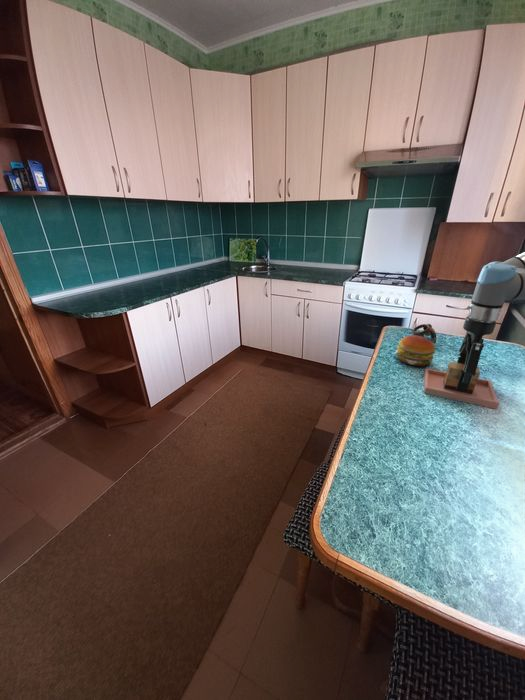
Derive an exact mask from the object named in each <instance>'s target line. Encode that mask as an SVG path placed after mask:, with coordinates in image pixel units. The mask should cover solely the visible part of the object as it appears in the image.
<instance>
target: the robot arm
mask: <svg viewBox="0 0 525 700" xmlns="http://www.w3.org/2000/svg"><path fill="white" fill-rule="evenodd" d="M507 300H510V301H511V300H512V301H525V251H524V252H522V253H520V254H518V255H515V256H513V257H510V258H509V259H507V260H505V261H501V260H500V261H491V262H489V263H487V264H485V265H483V266H482V269H481V271H480V272H479V275H478V278H477V279H476V285H475V288H474V291H473V294H472V297H471V301H470V305H467V307H466V309H467V310H468V311H467V313H466V315H467V316H466V317H465V320H464V323H463V326H462V328H463V330H465V332H466V333H465V336H464V338H463V340H462V343H461V344H460V348H459V350H458V352H459V354H458V357H457V361H456V363H461V364H465V365H464V370H463V371H460V373H461V375H460V378H459V381H458V384H457V387H456V390H460V391H465V392H466V391H467V388H468V386H469V383H470V380H471V377H472V376H475V373H476V369H477V367H479V366H478V365H479V361H480V358H481V355H482V351H483V349H484V347H485V344H484V340H485V338H483V337H484V336H486V335H487V336H489V335H492V334H493V333H494V331H495V328H496V325H497V321H498V320H499V318H500V315H501V312H502V310H503V308H504V307H503V306H504V304H505V302H506V301H507Z"/></svg>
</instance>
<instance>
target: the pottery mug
mask: <svg viewBox="0 0 525 700" xmlns="http://www.w3.org/2000/svg"><path fill="white" fill-rule="evenodd" d="M420 329H422V331H418V330H420ZM417 331H418V332H417ZM411 332H412V334H411V336H415V335H416V336H422V337H425V336H427V337H428V336H429V337H430V339H432V340H433V344H436V343H437V333H436V331H435V329H434V328H433V326H432V324H430V323H423V324H418V325H416V326H415V327H414V328H413V329H412V331H411Z"/></svg>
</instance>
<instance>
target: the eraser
mask: <svg viewBox="0 0 525 700" xmlns="http://www.w3.org/2000/svg"><path fill="white" fill-rule="evenodd" d="M464 365H465V364H461V363H457V362H455V361H449V362H448V365H447V369H446V371H445V372H446V374H445V377H444V381H443V385H444V388H445V389H450V390H455V391H459V392H464V393H469V394H472V393H473V391H474V388H475V385H476V383H477V380H478V378H480V375H481V372H480V369H479V366H477V369H476V373H475V376H472V377H471V380H470V383H469V386H468V388H467V391H466V392H465V391H460V390H456V387H457V384H458V381H459V378H460V375H461V373H460V371H463V370H464Z"/></svg>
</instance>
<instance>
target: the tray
mask: <svg viewBox="0 0 525 700" xmlns="http://www.w3.org/2000/svg"><path fill="white" fill-rule="evenodd" d="M445 374H446V371H442V370H436V369H431V368H425V369H424V374H423V375H424V376H423V394H427V395H431V396H436V397H439V398H445V399H448V400H453V401H458V402H462V403H467V404H471V405H476V406H481V407H483V408H484V407H485V408H488V409H489V408H490V409H494V410H497V409H498V407H499V405H500V402H499V399H498V397H497V394H496V391H495V388H494V386H493V383H492V380H489V379H483V378H480V377H478V380H477V383H476V385H475V388H474V391H473V393H472V394H469V393H464V392H459V391H455V390H450V389H445V388H444V385H443V381H444V377H445Z"/></svg>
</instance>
